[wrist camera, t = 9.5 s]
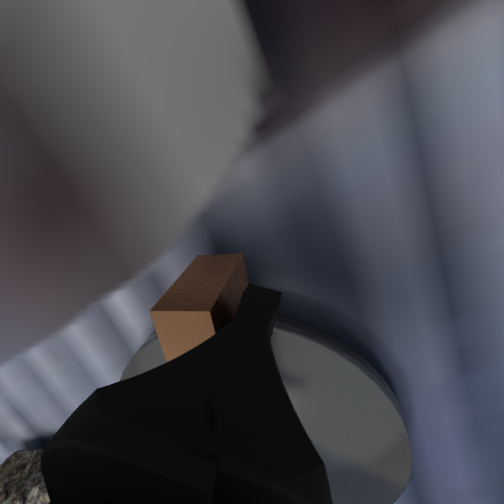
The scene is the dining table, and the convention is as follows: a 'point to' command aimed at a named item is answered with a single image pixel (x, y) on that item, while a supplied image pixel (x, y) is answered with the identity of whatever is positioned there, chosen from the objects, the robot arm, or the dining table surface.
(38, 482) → the rock
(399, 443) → the turntable
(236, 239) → the dining table surface
